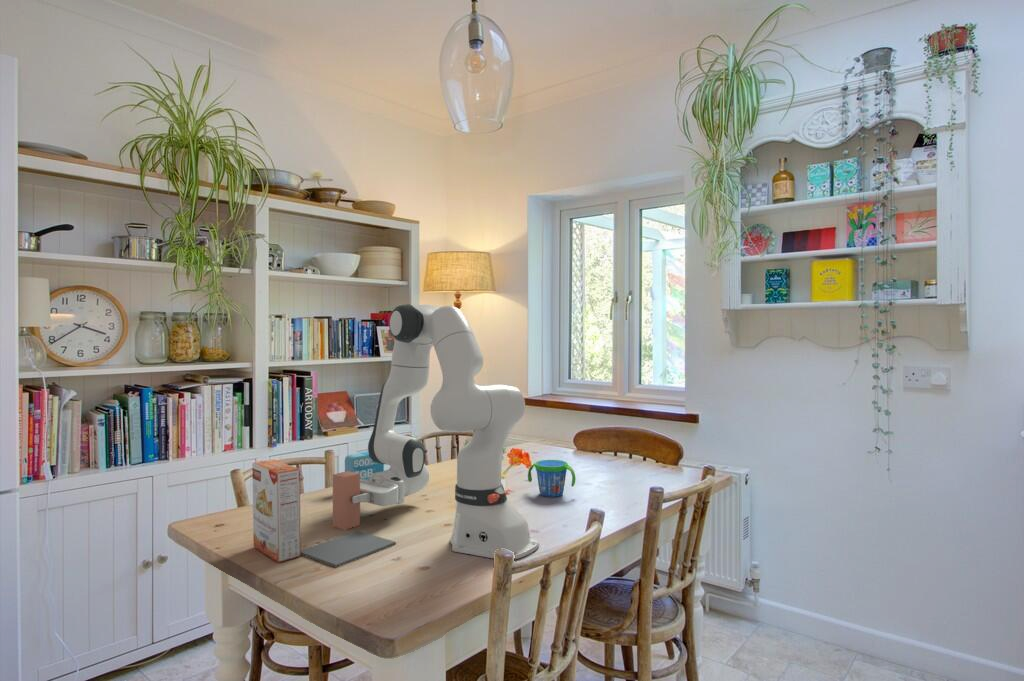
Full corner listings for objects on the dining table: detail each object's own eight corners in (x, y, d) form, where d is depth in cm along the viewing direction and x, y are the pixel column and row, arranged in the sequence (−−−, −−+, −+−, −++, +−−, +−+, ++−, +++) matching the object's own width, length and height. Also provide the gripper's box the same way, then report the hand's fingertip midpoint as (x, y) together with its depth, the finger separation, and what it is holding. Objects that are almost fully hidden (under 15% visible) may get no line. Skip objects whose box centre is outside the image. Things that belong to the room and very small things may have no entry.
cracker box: (251, 548, 149) (251, 462, 148) (276, 541, 153) (275, 458, 152) (276, 564, 139) (275, 472, 138) (301, 557, 143) (301, 467, 142)
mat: (395, 544, 151) (395, 541, 151) (336, 567, 137) (336, 564, 137) (357, 532, 160) (357, 530, 160) (297, 553, 145) (297, 551, 145)
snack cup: (521, 494, 196) (522, 463, 196) (537, 487, 205) (537, 457, 205) (566, 502, 188) (566, 469, 188) (580, 494, 198) (580, 462, 197)
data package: (351, 495, 195) (351, 457, 195) (344, 492, 199) (344, 455, 198) (384, 488, 204) (384, 452, 204) (376, 485, 207) (376, 450, 207)
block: (359, 525, 166) (359, 473, 166) (345, 530, 162) (344, 477, 161) (347, 521, 169) (347, 470, 168) (332, 526, 165) (332, 474, 164)
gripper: (358, 471, 182) (319, 480, 170) (407, 481, 170) (369, 492, 158) (358, 492, 182) (319, 503, 171) (407, 504, 170) (369, 516, 159)
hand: (343, 497), depth 164 cm, fingers closed on block, 5 cm apart
